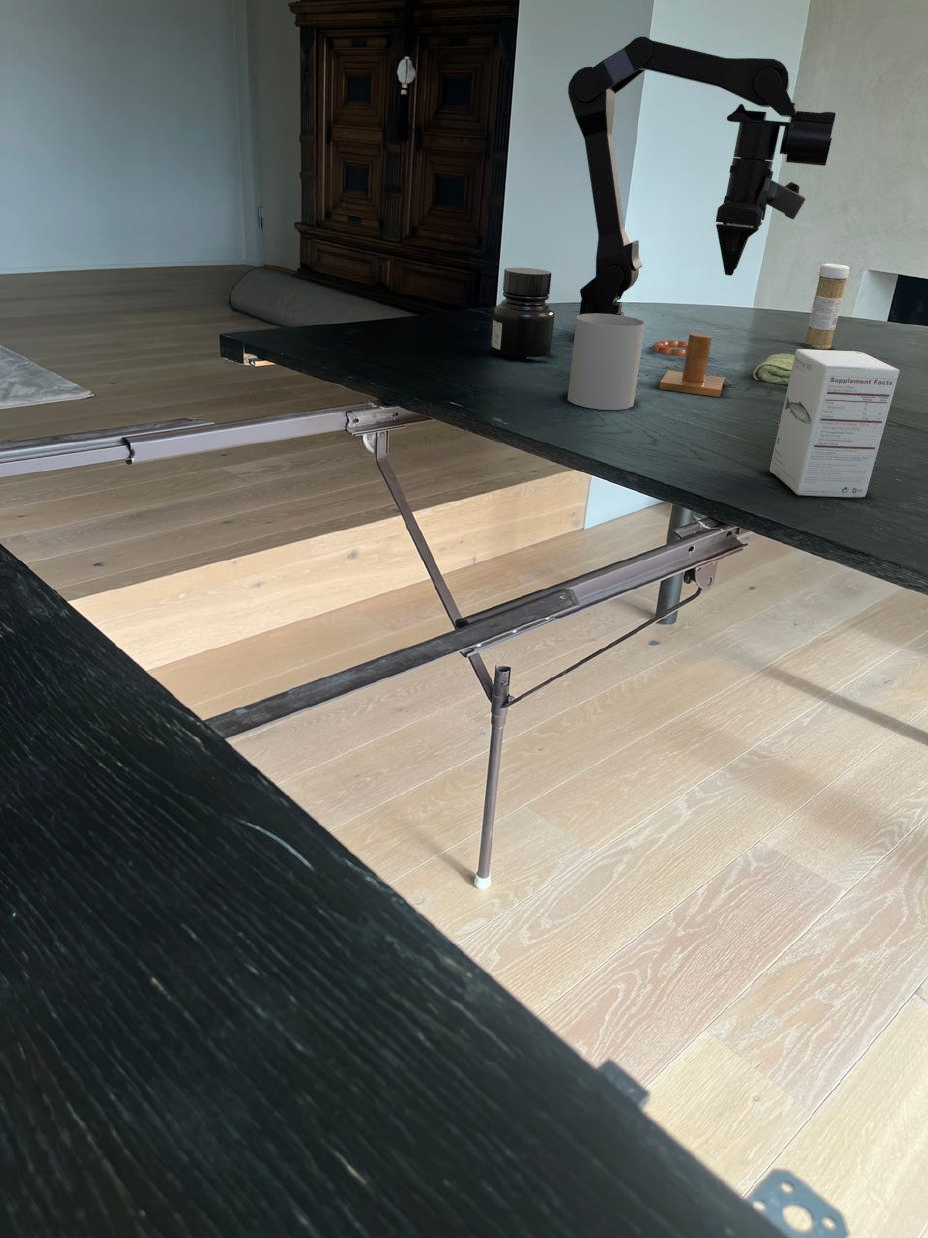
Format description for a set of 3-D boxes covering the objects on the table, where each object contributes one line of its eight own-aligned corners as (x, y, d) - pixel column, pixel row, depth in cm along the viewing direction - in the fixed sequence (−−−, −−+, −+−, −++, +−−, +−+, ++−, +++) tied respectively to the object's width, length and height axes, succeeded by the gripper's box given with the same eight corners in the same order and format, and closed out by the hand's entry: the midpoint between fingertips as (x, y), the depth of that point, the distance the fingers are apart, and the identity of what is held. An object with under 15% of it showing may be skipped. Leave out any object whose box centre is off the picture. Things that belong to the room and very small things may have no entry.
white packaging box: (766, 471, 99) (793, 347, 93) (835, 474, 99) (866, 350, 94) (794, 496, 92) (825, 364, 86) (867, 498, 93) (903, 367, 87)
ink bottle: (506, 346, 148) (513, 264, 143) (559, 354, 145) (568, 271, 140) (480, 356, 141) (486, 270, 135) (535, 365, 137) (543, 277, 132)
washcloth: (881, 406, 128) (887, 382, 127) (748, 385, 134) (753, 362, 133) (888, 387, 139) (894, 365, 137) (765, 368, 145) (769, 347, 144)
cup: (638, 398, 123) (650, 318, 119) (627, 413, 116) (639, 329, 112) (575, 389, 126) (584, 310, 121) (560, 403, 119) (569, 320, 114)
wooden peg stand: (659, 389, 129) (667, 335, 126) (666, 377, 136) (674, 326, 133) (719, 397, 127) (729, 343, 124) (723, 384, 134) (733, 333, 131)
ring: (647, 357, 148) (649, 346, 147) (655, 347, 155) (656, 337, 154) (705, 364, 146) (707, 353, 145) (710, 354, 153) (712, 343, 152)
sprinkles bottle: (812, 343, 167) (831, 262, 161) (836, 349, 164) (855, 266, 158) (797, 346, 164) (815, 263, 158) (821, 351, 161) (840, 267, 155)
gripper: (810, 165, 130) (783, 285, 137) (809, 163, 145) (785, 271, 153) (727, 157, 132) (704, 276, 139) (735, 157, 148) (715, 263, 155)
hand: (730, 271), depth 147 cm, fingers open, 9 cm apart
